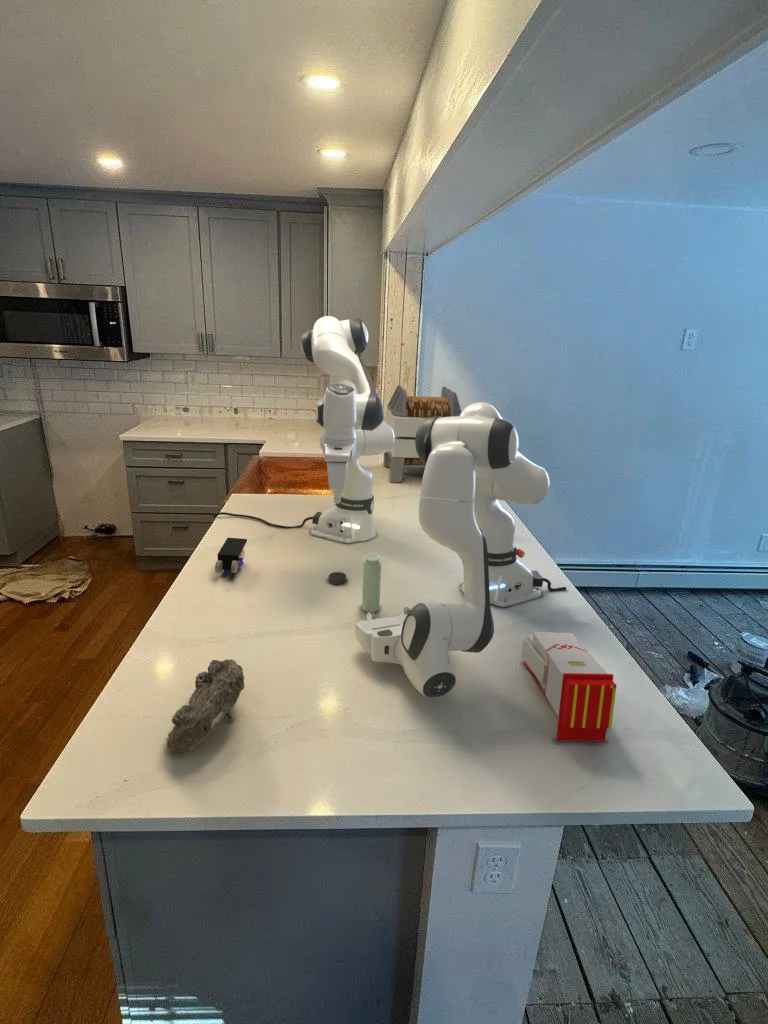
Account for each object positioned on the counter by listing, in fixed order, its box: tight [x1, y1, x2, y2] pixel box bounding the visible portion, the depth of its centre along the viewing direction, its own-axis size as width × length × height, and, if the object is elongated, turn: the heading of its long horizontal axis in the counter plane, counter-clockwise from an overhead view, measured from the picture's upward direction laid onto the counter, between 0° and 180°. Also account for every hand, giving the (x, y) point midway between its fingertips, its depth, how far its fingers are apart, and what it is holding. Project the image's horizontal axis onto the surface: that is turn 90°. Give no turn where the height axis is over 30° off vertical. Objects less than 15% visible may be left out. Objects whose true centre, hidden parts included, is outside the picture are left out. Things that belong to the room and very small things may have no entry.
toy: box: [520, 631, 618, 742], centre depth 117 cm, size 12×13×30 cm
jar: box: [361, 554, 382, 613], centre depth 147 cm, size 5×5×14 cm
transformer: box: [383, 384, 462, 483], centre depth 268 cm, size 34×33×41 cm
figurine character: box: [214, 537, 248, 578], centre depth 166 cm, size 7×8×15 cm
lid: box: [327, 571, 348, 586], centre depth 164 cm, size 5×5×2 cm
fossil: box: [166, 658, 245, 754], centre depth 106 cm, size 22×10×15 cm
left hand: (338, 497), depth 155 cm, fingers open, 8 cm apart
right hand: (388, 612), depth 137 cm, fingers open, 8 cm apart
